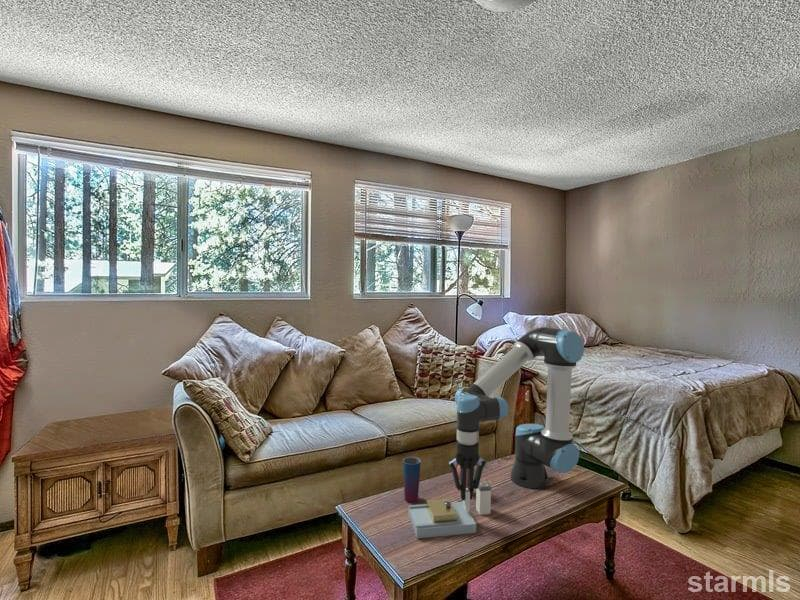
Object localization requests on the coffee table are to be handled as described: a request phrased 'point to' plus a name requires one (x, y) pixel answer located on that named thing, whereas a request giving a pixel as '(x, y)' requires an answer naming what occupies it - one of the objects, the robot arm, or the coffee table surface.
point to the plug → (483, 498)
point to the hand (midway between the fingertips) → (466, 508)
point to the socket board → (429, 529)
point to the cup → (411, 478)
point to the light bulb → (466, 475)
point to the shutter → (441, 510)
